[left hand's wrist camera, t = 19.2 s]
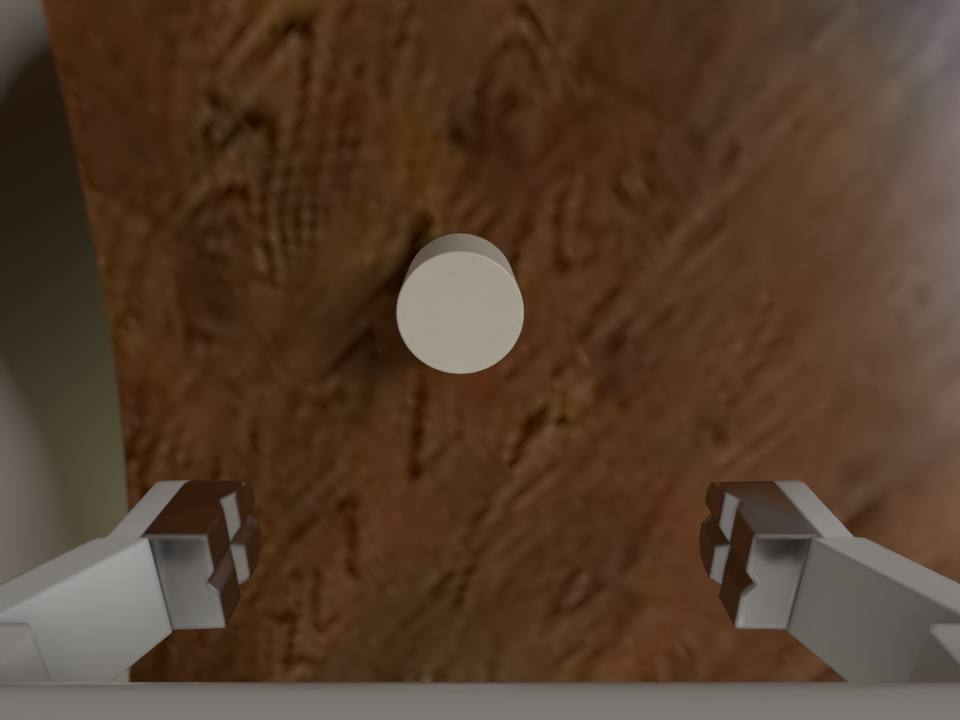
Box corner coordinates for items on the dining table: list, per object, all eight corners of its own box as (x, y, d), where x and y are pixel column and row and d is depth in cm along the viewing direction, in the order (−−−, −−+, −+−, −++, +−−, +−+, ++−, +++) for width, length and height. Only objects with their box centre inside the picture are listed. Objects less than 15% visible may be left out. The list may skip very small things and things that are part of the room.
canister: (483, 212, 25) (487, 227, 21) (532, 309, 27) (545, 339, 23) (385, 265, 26) (371, 289, 22) (439, 356, 27) (435, 394, 23)
